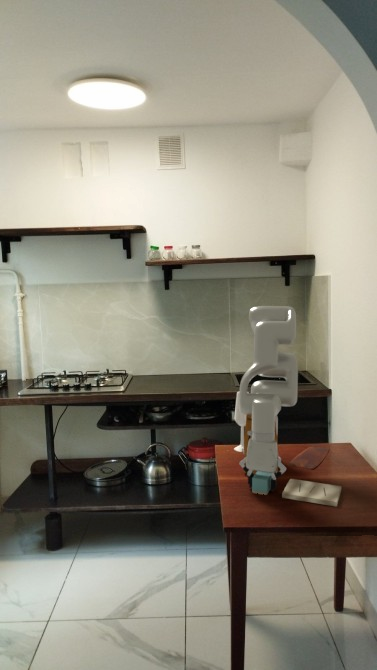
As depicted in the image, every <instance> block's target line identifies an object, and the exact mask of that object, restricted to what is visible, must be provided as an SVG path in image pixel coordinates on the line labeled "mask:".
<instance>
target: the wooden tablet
mask: <svg viewBox="0 0 377 670" xmlns="http://www.w3.org/2000/svg"><path fill="white" fill-rule="evenodd" d="M329 452H330V448H327V447H318V446H309V447H307V449H306V448H305V449H304V450H303V451H301V452H300V453H299V454H297V455H296V456H295V457H294V458H293V459H291V461H289V465H290V466H292V465H294V466H293V467H300V466H301V467H300V468H302V467H304V468H303V469H306V468H308V470H315V469H316V468H317V467H318V466H319V465H320V464H321V463H322V462H323V460H324V459H325V458H326V456H327V455H328V454H329Z"/></svg>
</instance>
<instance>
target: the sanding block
mask: <svg viewBox="0 0 377 670" xmlns="http://www.w3.org/2000/svg"><path fill="white" fill-rule="evenodd" d="M271 479H272V476H271V474H270V473H268V472H261V471H257V472H256V474H254V476H253V478H252V488H251V492H252V493H253V494H257V493H258V495H263V494H264V495H265V496H267V495H268V494H269V492H270V491H271Z"/></svg>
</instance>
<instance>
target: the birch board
mask: <svg viewBox="0 0 377 670" xmlns="http://www.w3.org/2000/svg"><path fill="white" fill-rule="evenodd" d="M341 493H342V485H341V486H340V485H334V484H329V483H320V482H315V481H308V480H301V479H296V478H290V479H289V480H288V482H287V483H286V486H285V487H284V490H282V493H281V494H282V495H281V497H282V499H289V500H294V501H301V502H306V503H312V504H313V503H314V504H319V505H325V506H331V507H336V508H337V507H338V504H339V500H340V497H341Z"/></svg>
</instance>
